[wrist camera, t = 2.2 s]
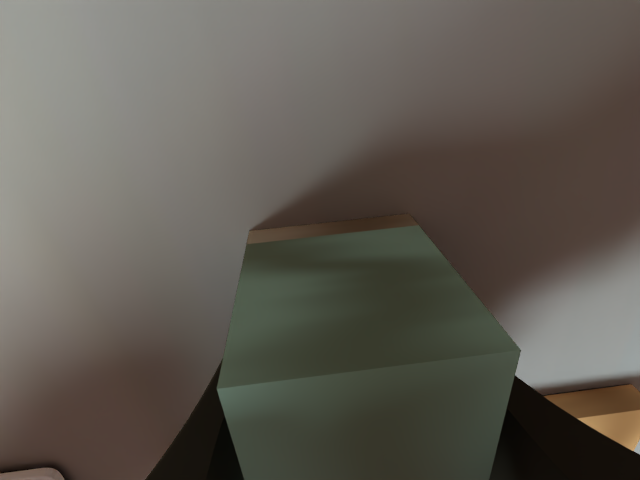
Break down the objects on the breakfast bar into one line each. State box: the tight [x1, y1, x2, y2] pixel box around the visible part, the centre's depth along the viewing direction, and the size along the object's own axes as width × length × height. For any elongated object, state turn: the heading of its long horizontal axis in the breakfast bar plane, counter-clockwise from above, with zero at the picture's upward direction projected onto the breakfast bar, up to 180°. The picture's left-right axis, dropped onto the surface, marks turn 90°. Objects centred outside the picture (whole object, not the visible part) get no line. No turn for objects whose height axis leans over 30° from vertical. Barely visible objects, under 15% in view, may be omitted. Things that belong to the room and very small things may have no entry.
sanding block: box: [217, 214, 521, 480], centre depth 10 cm, size 5×9×6 cm, turn 4°
